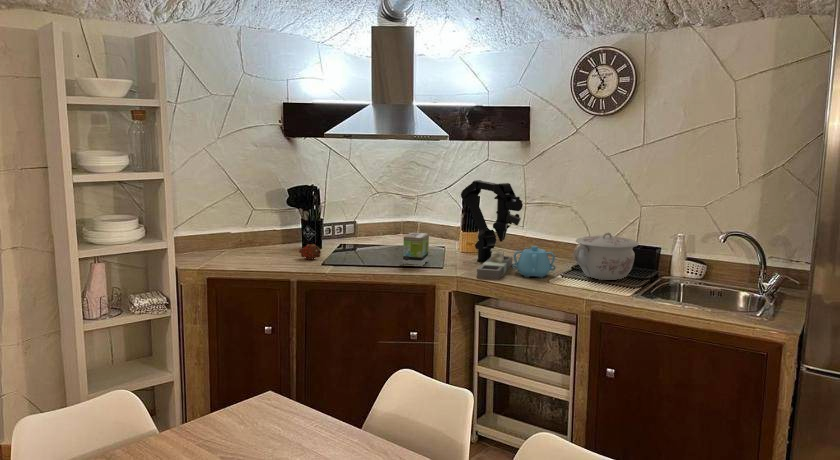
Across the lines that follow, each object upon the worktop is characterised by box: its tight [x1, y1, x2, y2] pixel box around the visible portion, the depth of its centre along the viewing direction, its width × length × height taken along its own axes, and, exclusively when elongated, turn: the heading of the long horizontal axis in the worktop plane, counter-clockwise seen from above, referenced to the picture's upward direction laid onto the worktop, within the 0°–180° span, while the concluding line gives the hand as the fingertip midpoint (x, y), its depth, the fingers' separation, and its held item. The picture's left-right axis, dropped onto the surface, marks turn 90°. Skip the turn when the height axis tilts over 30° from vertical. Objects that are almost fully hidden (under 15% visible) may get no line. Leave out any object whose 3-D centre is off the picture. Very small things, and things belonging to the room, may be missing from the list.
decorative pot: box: [511, 245, 556, 279], centre depth 304 cm, size 16×16×14 cm
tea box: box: [402, 232, 430, 265], centre depth 326 cm, size 15×10×15 cm
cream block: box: [491, 251, 505, 262], centre depth 316 cm, size 5×5×4 cm
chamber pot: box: [573, 232, 639, 280], centre depth 300 cm, size 28×28×21 cm
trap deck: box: [476, 255, 513, 281], centre depth 313 cm, size 10×34×4 cm, turn 162°
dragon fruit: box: [298, 243, 322, 260], centre depth 336 cm, size 8×8×12 cm
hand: (502, 240), depth 325 cm, fingers open, 5 cm apart
